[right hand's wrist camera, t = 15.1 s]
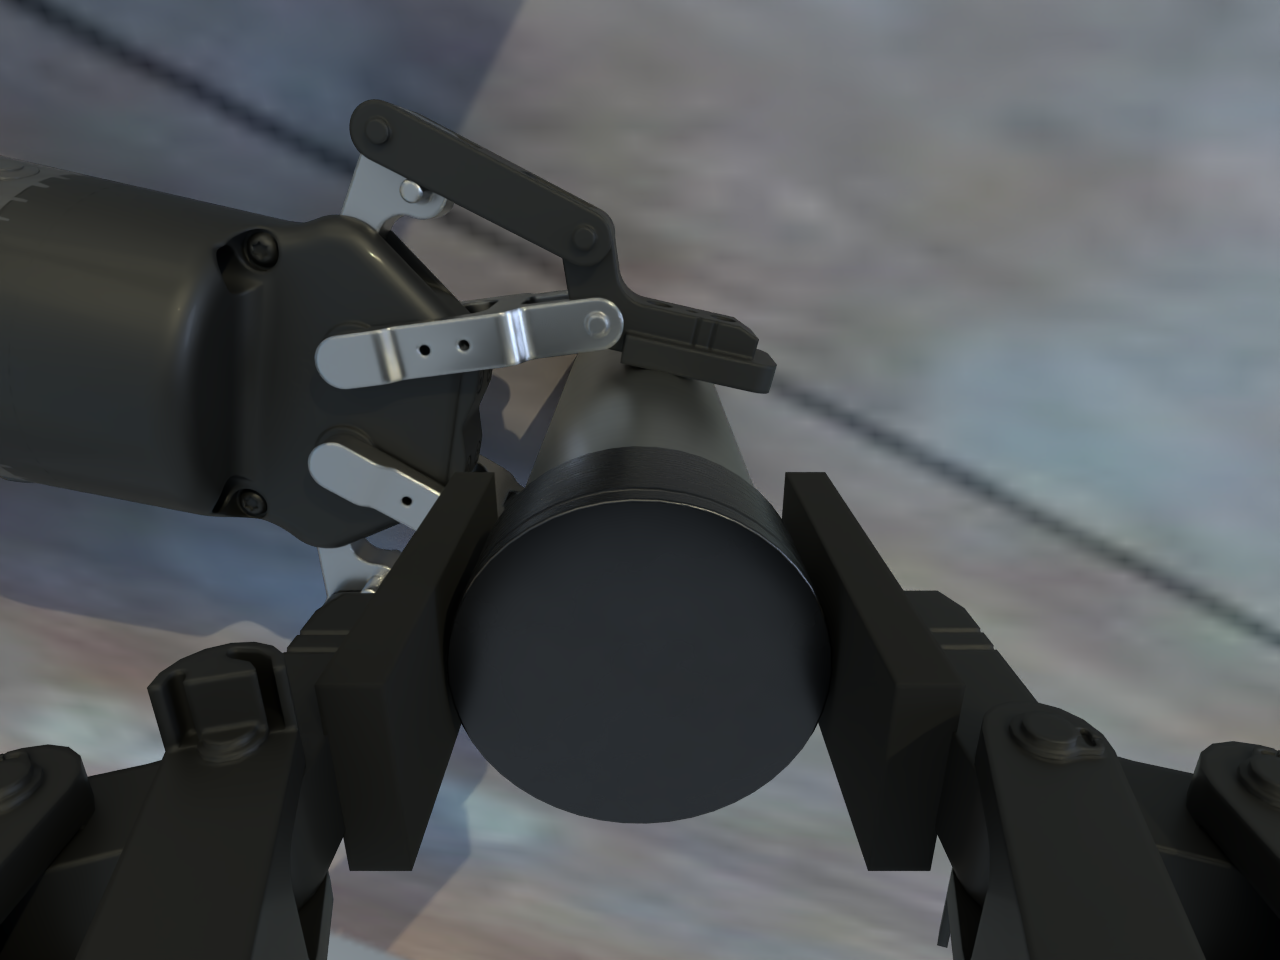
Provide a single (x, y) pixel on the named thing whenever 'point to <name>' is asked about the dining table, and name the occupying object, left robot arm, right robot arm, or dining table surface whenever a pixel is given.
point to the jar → (636, 415)
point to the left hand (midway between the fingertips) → (736, 472)
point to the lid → (639, 639)
